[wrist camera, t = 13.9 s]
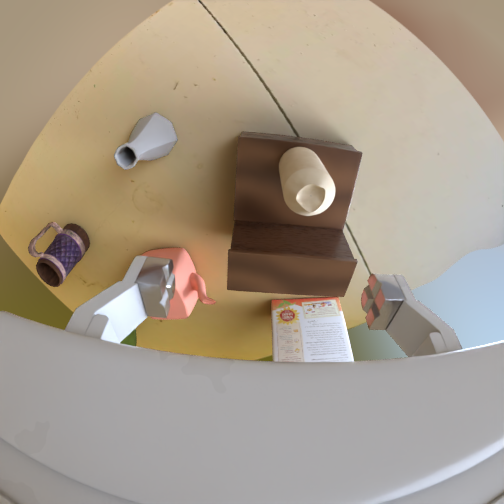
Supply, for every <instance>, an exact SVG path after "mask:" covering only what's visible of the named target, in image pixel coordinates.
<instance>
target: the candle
mask: <svg viewBox="0 0 504 504" xmlns="http://www.w3.org/2000/svg"><path fill="white" fill-rule="evenodd" d="M279 173H280V179H281V185H282V190H283V196H284V200H285V202H286V204H287V206H288V207H289V208H290V209H291V210H292V211H294V212H295V213H297V214H300V215H304V216H312V215H317V214H319V213H321V212H323V211H325V210H326V209H327V208H328V207H329V206H330V205H331V203H332V202H333V200H334V197H335V185H334V182H333V180H332V178H331V177H330V175H329V173H328V172H327V170H326V168H325V167H324V165H323V164H322V162H321V161H320V159H319V157H318V156H317V155H316V154H315V153H314V152H313V151H312V150H310V149H308V148H305V147H294V148H291V149H289V150H288V151H286V152H285V153H284V154H283V155H282V157H281V159H280V162H279Z"/></svg>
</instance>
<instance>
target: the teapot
mask: <svg viewBox="0 0 504 504" xmlns="http://www.w3.org/2000/svg"><path fill="white" fill-rule="evenodd" d="M141 256H147V257H149V256H150V257H158V258H167V259H172V260H173V266H174V268H173V270H172V273H173V274H174V275H175V282H176V286H175V293H174V296H173V298H172V299H171V300H170V309H169V312H168V316H167V318H159V317H151V318H152V319H186V318H188V316H189V315H190V313H191V311H192V310H193V308H194V306H195V304H196V302H197V299H198V298H199V300H200V301H201V302H202V303H205V304H215V303H216V301H215V300H213V299H210V298H208V297H207V295H206V288H205V283H204V281H203V279H202V278H201V276H199V275H198V274H197V273H196V270H195V267H194V264H193V262H192V260H191V258H190V256H189V254H188V252H187V251H186V250H185V249H184V248H165V249H156V250H150V251H146V252H145V253H143V254H142V255H141ZM149 317H150V316H149Z"/></svg>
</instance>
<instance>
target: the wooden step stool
mask: <svg viewBox="0 0 504 504" xmlns="http://www.w3.org/2000/svg"><path fill="white" fill-rule="evenodd" d="M294 147H305V148H308V149H310V150H312V151H313V152H314V153H315V154H316V155H317V156H318V157H319V159H320V161H321V162H322V164H323V165H324V167H325V168H326V170H327V172H328V173H329V175H330V177H331V178H332V180H333V182H334V185H335V197H334V200H333V202H332V203H331V205H330V206H329V207H328V208H327V209H326V210H325V211H323V212H321V213H319V214H317V215H312V216H304V215H300V214H297V213H295V212H294V211H292V210H291V209H290V208H289V207H288V206H287V204H286V202H285V200H284V196H283V190H282V185H281V179H280V173H279V162H280V159H281V157H282V155H283V154H284V153H285V152H286V151H288V150H289V149H291V148H294ZM361 157H362V152H360V151H357V150H356V149H355V148H354V147H352V146H351V145H346V144H341V143H335V142H329V141H323V140H316V139H309V138H302V137H294V136H286V135H277V134H266V133H255V132H242V133H241V136H239V137H238V150H237V167H236V184H235V203H234V221H235V224H234V230H233V236H232V243H231V249H229V250H228V278H227V290H236V291H249V292H263V293H278V294H294V295H313V296H334V297H344V296H345V293H346V291H347V288H348V286H349V283H350V281H351V278H352V276H353V273H354V270H355V268H356V265H357V259H354V257H353V255H352V252H351V250H350V248H349V245H348V243H347V240H346V238H345V236H344V233H343V228H344V225H345V221H346V217H347V214H348V210H349V206H350V203H351V199H352V195H353V191H354V187H355V183H356V179H357V175H358V170H359V166H360V162H361Z"/></svg>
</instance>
